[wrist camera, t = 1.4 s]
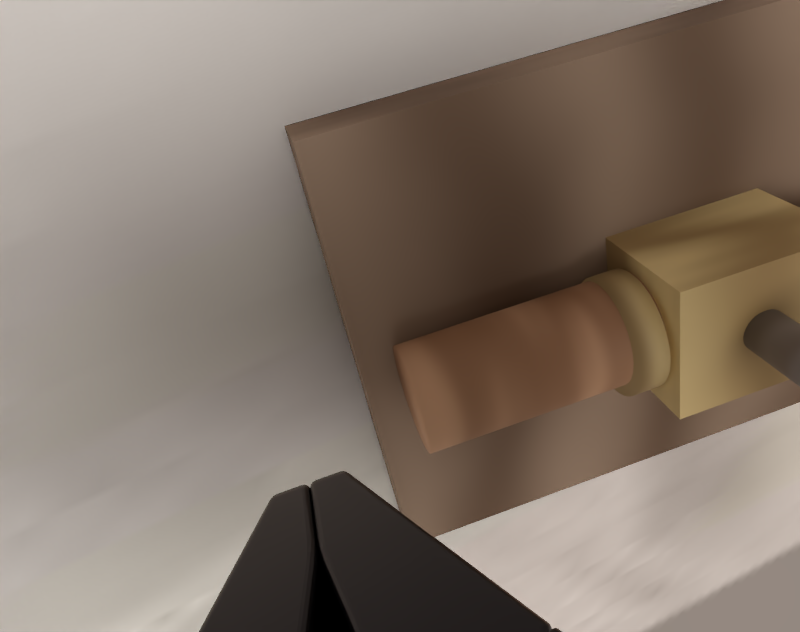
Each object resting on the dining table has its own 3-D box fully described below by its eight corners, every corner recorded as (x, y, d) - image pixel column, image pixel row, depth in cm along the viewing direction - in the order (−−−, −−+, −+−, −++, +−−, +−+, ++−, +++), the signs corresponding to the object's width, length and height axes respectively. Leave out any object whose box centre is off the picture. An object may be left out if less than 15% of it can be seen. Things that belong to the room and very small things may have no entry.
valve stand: (400, 513, 25) (483, 738, 18) (285, 126, 17) (350, 254, 11) (891, 335, 27) (1129, 473, 20) (969, -71, 20) (1382, -68, 13)
